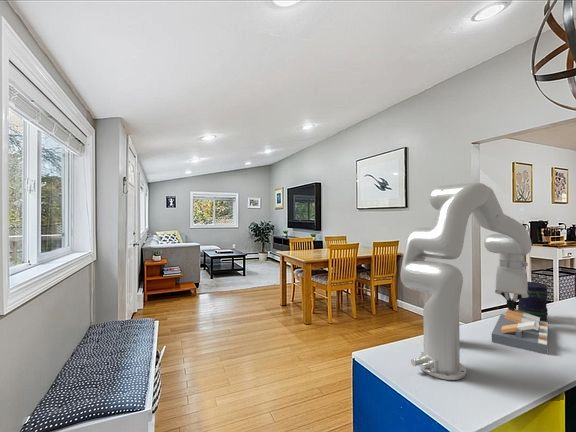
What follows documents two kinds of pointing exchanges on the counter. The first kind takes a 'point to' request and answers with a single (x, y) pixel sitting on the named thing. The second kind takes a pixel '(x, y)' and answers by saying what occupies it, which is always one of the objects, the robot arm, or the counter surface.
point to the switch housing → (522, 336)
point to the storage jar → (535, 301)
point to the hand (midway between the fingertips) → (511, 309)
